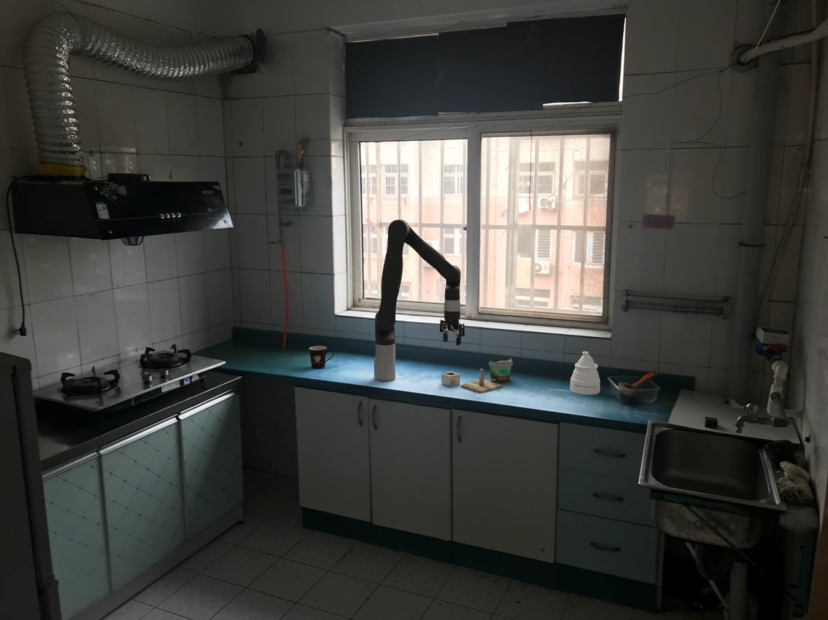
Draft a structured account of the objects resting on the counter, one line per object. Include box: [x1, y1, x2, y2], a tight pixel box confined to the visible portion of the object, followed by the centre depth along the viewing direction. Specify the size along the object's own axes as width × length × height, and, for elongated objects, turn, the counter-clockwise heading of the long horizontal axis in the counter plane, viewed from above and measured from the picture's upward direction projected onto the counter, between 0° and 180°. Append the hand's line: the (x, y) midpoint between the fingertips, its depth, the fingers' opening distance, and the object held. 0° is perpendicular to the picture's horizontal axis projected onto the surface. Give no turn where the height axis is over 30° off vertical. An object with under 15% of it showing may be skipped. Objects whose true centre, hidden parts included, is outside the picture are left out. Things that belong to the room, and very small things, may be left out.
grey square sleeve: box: [440, 370, 461, 388], centre depth 297 cm, size 6×6×5 cm
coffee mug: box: [308, 345, 335, 370], centre depth 324 cm, size 12×9×10 cm
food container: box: [488, 357, 514, 384], centre depth 301 cm, size 12×6×10 cm, turn 117°
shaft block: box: [460, 368, 503, 394], centre depth 292 cm, size 14×12×8 cm
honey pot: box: [569, 351, 601, 396], centre depth 287 cm, size 13×13×18 cm
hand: (451, 343), depth 300 cm, fingers open, 8 cm apart
